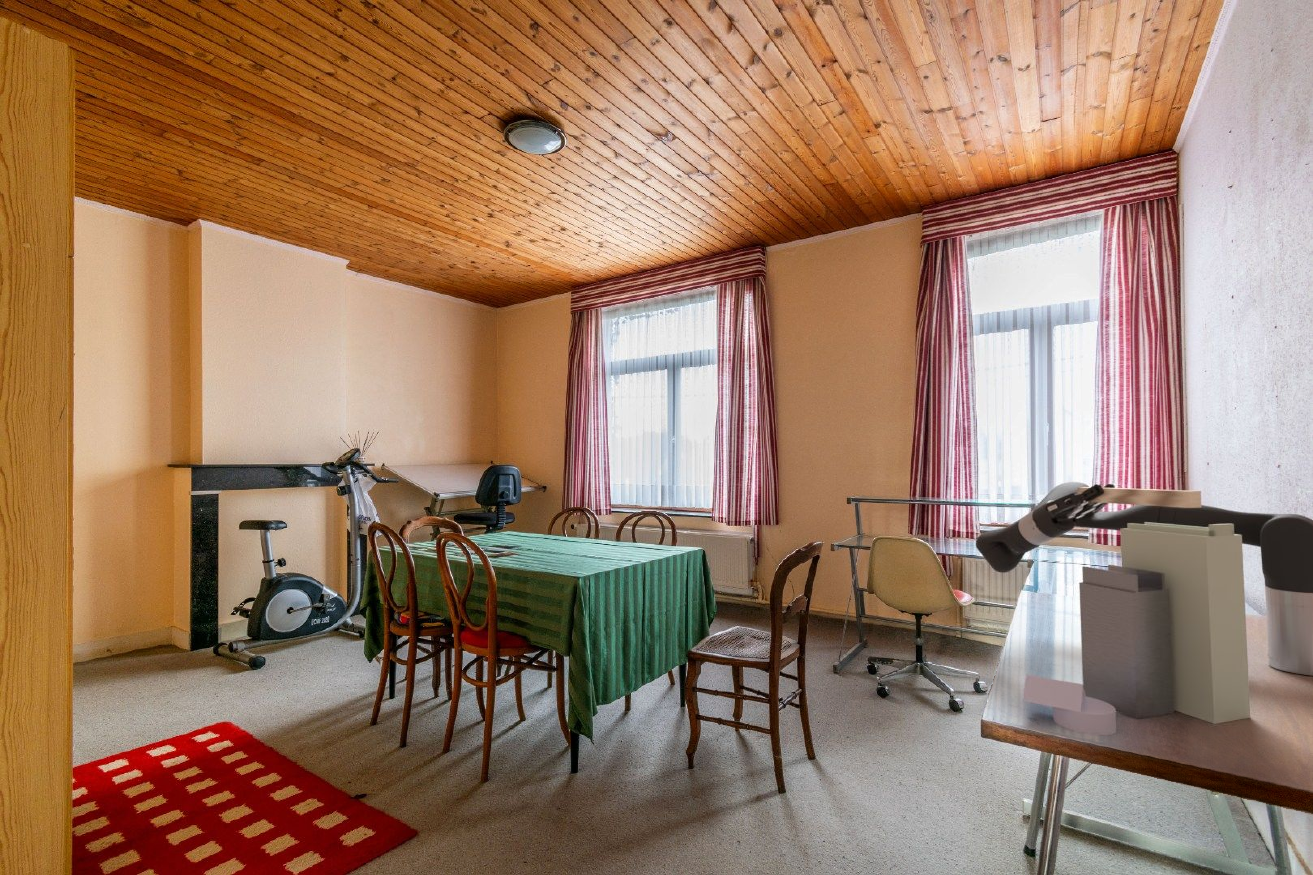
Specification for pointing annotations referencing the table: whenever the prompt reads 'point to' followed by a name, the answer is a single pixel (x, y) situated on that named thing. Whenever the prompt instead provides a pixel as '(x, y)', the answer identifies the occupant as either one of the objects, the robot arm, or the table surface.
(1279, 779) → the table surface
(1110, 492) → the rail
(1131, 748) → the table surface
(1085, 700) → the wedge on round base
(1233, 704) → the pale green tall block
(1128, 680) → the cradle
